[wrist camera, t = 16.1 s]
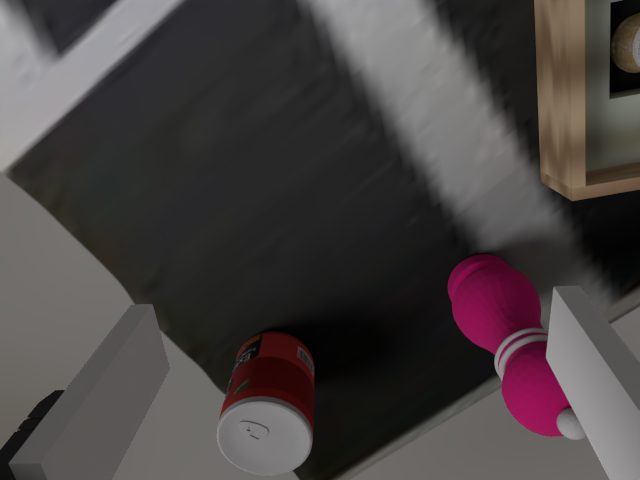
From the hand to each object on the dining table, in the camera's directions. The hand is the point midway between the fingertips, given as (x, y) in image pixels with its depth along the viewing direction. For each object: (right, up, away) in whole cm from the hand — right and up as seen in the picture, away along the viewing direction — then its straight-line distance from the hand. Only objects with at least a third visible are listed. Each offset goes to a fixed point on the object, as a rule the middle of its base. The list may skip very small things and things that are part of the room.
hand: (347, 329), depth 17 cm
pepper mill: (+14, -1, +31) cm, 35 cm away
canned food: (-5, -9, +35) cm, 36 cm away
